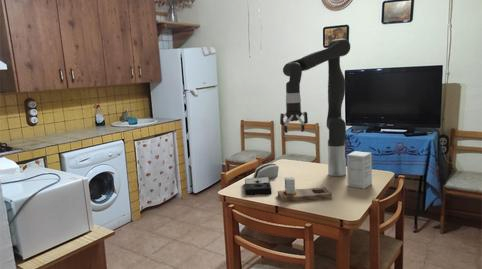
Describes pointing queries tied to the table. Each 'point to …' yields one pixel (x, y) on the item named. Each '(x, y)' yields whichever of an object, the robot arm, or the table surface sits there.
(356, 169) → the supplement box
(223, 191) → the table surface
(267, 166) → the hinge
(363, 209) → the table surface
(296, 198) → the hole board
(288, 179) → the steel peg
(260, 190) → the multimeter
